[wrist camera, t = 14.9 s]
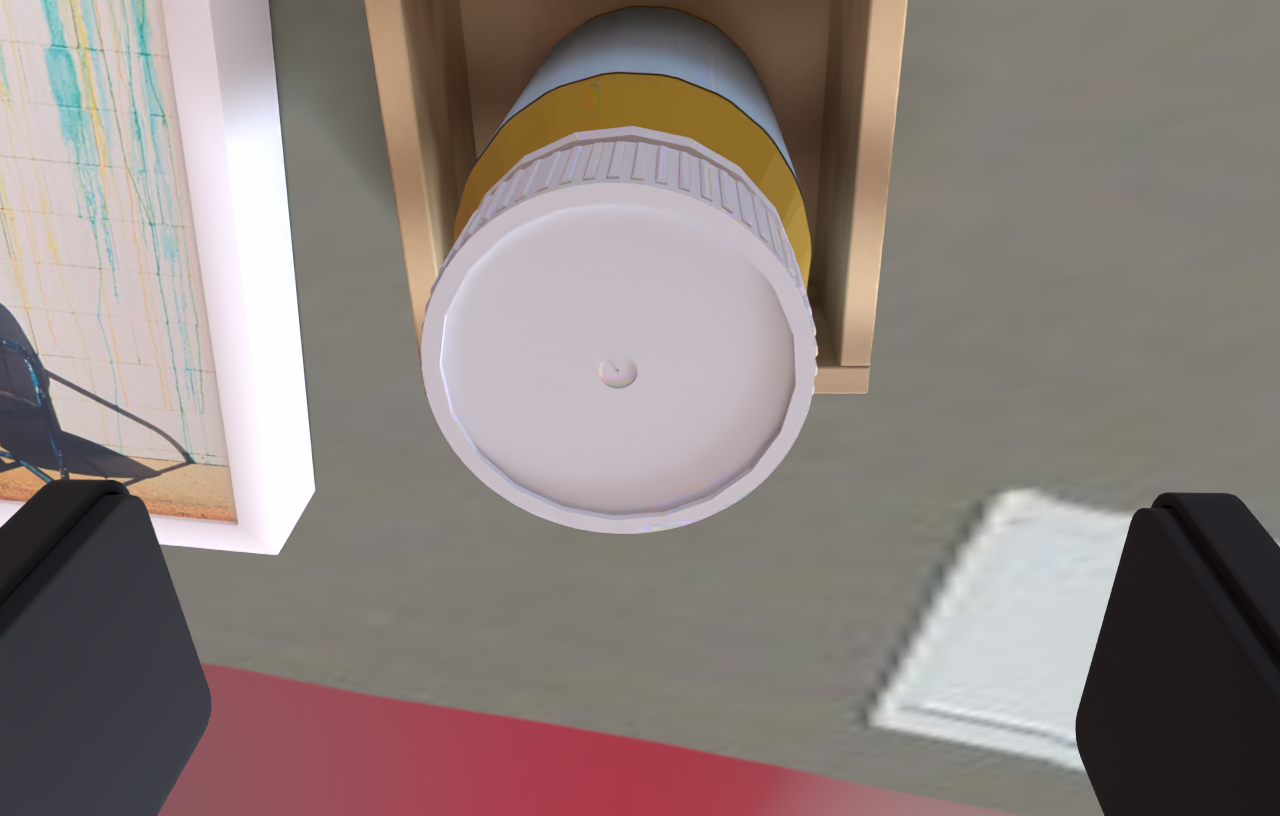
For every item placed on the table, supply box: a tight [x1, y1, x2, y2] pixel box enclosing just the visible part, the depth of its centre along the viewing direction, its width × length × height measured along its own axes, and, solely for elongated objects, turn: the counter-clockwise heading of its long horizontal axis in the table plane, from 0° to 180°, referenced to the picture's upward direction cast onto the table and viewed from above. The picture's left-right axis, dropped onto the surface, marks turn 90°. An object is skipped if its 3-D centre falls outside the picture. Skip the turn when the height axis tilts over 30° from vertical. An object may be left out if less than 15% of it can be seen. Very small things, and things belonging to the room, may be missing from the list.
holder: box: [364, 0, 908, 395], centre depth 25 cm, size 12×12×7 cm
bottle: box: [421, 5, 818, 534], centre depth 21 cm, size 7×7×15 cm
